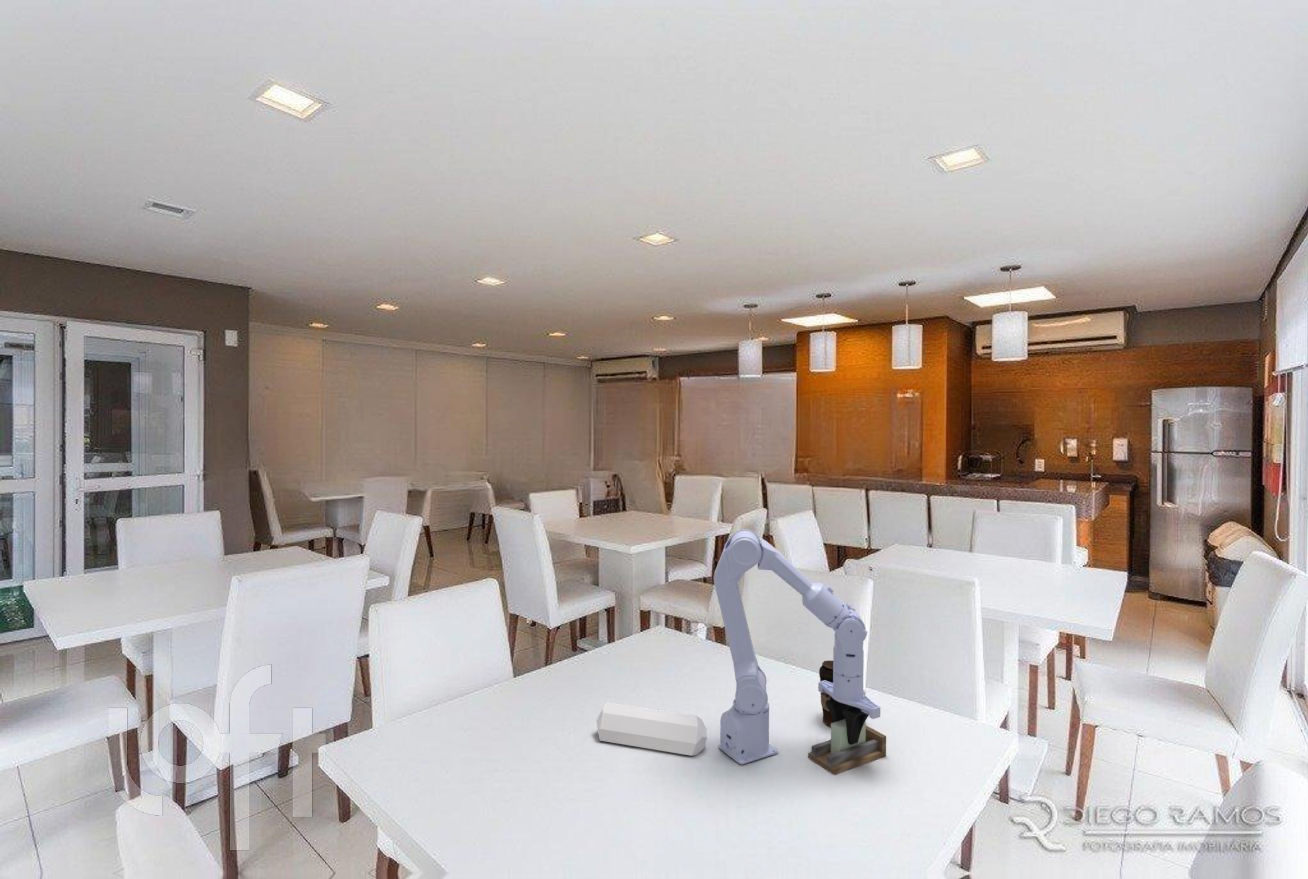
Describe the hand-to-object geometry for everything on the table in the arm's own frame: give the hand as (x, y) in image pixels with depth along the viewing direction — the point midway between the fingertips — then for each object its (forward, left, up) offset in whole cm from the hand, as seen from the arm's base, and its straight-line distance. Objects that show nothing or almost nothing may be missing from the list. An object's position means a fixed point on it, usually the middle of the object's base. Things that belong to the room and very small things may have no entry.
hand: (847, 739), depth 128 cm
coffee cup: (+9, +12, -4) cm, 15 cm away
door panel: (0, 0, -2) cm, 2 cm away
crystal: (-31, +24, -4) cm, 40 cm away
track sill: (0, 0, -3) cm, 3 cm away
